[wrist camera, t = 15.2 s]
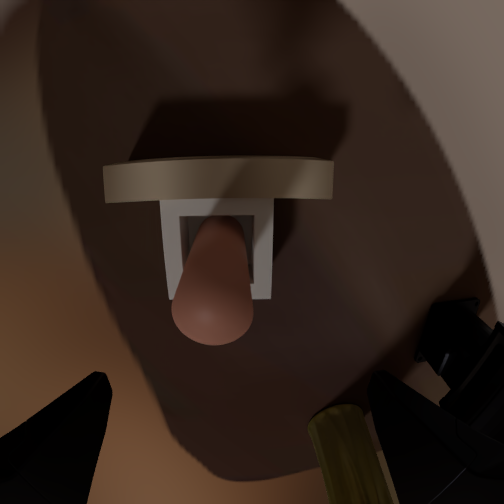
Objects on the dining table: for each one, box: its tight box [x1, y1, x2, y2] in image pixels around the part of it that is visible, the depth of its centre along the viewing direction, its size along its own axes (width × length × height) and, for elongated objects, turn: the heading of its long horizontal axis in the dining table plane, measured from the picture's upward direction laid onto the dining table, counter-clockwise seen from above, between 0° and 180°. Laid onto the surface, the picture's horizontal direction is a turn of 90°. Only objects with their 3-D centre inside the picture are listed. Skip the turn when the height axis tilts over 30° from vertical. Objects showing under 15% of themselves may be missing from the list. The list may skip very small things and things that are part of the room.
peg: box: [172, 215, 253, 345], centre depth 15 cm, size 3×3×9 cm
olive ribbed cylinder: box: [308, 404, 394, 504], centre depth 21 cm, size 6×6×14 cm
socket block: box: [160, 198, 274, 299], centre depth 18 cm, size 6×6×4 cm
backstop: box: [103, 155, 334, 203], centre depth 17 cm, size 12×2×4 cm, turn 90°
